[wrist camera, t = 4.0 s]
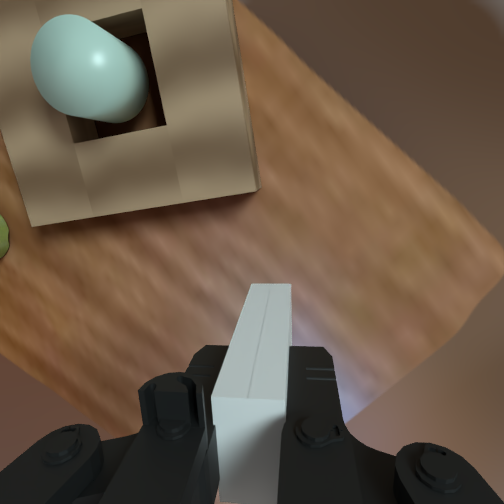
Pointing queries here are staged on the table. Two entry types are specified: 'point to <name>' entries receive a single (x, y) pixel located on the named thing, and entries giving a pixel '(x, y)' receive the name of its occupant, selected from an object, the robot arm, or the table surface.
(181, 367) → the table surface
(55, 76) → the pale mint egg
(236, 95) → the dock
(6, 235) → the plant pot
